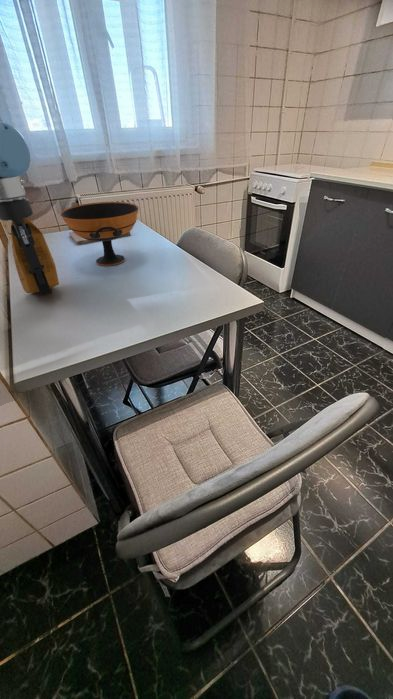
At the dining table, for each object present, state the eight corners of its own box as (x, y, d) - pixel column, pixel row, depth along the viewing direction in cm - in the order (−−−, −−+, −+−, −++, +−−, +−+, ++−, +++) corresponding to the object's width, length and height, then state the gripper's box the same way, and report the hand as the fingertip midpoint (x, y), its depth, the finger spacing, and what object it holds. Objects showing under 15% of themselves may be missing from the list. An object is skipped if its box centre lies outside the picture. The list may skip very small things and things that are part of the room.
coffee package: (59, 285, 94) (35, 210, 86) (63, 286, 83) (35, 201, 76) (25, 292, 89) (-4, 214, 82) (24, 294, 79) (-9, 205, 72)
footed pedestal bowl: (74, 250, 120) (61, 202, 109) (136, 242, 126) (130, 197, 116) (75, 285, 93) (58, 227, 82) (154, 273, 99) (148, 217, 88)
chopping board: (77, 244, 126) (76, 241, 125) (69, 235, 137) (68, 232, 136) (130, 235, 135) (130, 231, 134) (119, 227, 146) (118, 224, 145)
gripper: (30, 200, 64) (64, 298, 78) (24, 192, 73) (56, 281, 87) (-9, 205, 61) (34, 306, 75) (-10, 197, 70) (29, 288, 84)
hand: (46, 293), depth 81 cm, fingers closed
